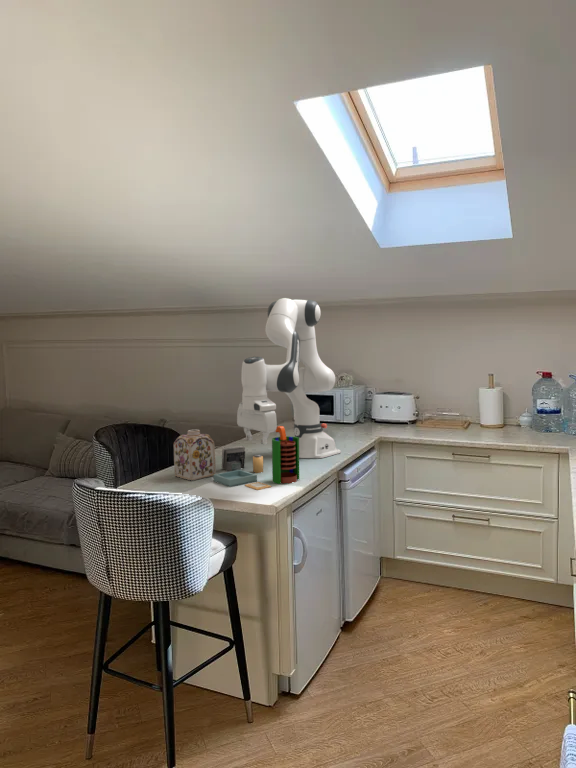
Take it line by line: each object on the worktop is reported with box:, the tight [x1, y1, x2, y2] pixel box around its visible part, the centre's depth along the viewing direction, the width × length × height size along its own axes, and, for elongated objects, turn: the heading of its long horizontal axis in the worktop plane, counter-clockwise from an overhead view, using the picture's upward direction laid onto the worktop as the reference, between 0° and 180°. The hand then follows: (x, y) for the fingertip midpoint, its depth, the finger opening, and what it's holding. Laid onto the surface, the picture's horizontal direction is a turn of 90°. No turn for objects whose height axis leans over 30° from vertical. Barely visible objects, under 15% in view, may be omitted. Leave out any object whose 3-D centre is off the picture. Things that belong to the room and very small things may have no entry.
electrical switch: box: [221, 445, 246, 471], centre depth 240 cm, size 9×5×9 cm, turn 113°
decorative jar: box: [173, 429, 217, 481], centre depth 230 cm, size 12×12×18 cm
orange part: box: [252, 454, 264, 474], centre depth 234 cm, size 4×4×7 cm
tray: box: [213, 469, 258, 488], centre depth 220 cm, size 12×12×2 cm
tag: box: [244, 481, 272, 491], centre depth 212 cm, size 6×8×1 cm
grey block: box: [226, 461, 242, 472], centre depth 230 cm, size 4×4×5 cm
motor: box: [271, 425, 300, 485], centre depth 218 cm, size 10×9×20 cm
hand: (256, 442), depth 211 cm, fingers open, 8 cm apart
